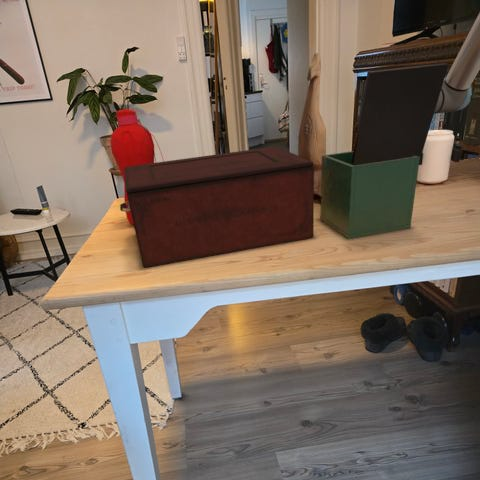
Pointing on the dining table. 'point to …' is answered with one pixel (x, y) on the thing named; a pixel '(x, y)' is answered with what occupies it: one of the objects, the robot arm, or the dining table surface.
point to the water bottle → (131, 145)
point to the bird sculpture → (313, 125)
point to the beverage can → (436, 157)
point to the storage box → (219, 203)
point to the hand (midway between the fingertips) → (439, 158)
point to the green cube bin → (367, 194)
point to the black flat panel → (397, 112)
